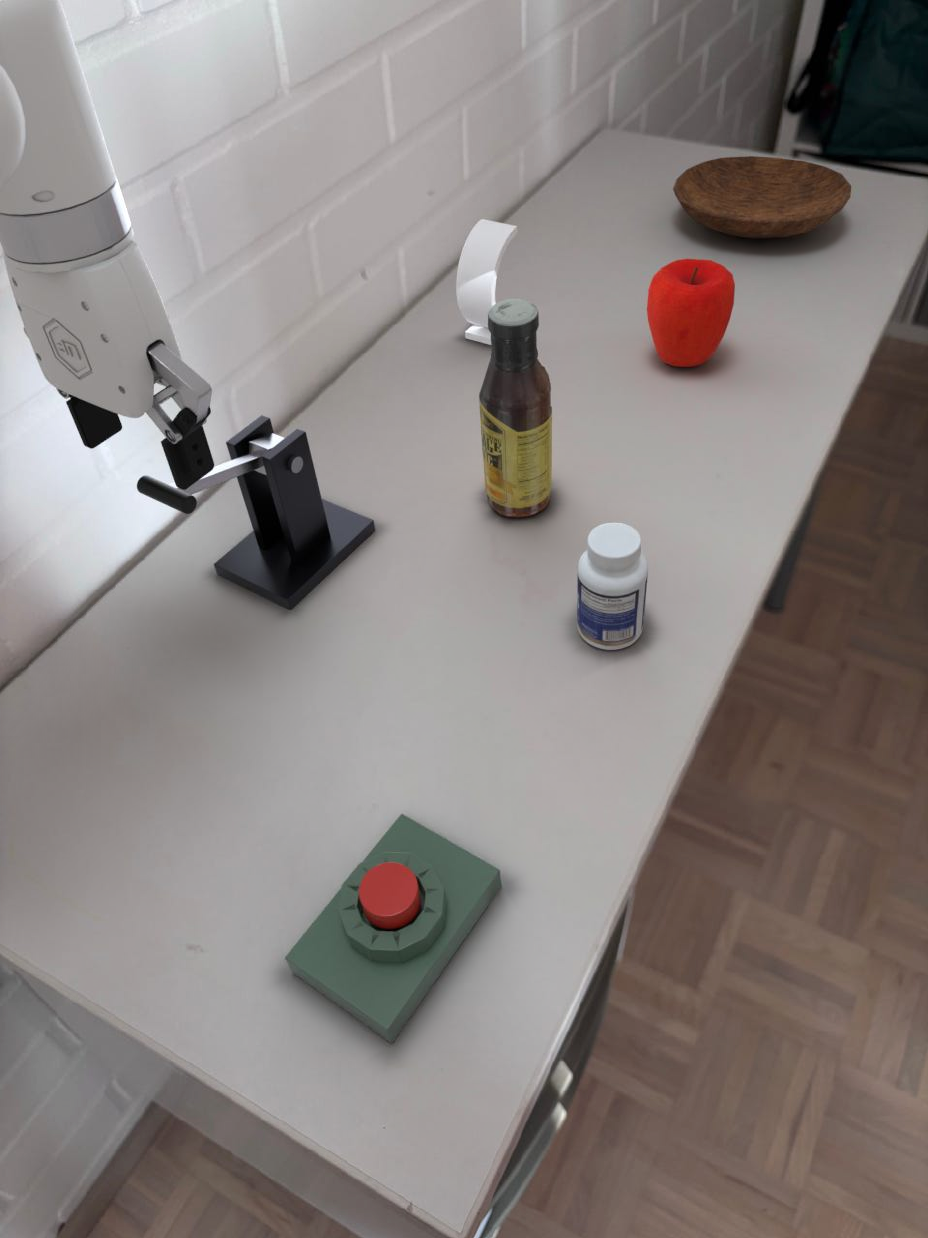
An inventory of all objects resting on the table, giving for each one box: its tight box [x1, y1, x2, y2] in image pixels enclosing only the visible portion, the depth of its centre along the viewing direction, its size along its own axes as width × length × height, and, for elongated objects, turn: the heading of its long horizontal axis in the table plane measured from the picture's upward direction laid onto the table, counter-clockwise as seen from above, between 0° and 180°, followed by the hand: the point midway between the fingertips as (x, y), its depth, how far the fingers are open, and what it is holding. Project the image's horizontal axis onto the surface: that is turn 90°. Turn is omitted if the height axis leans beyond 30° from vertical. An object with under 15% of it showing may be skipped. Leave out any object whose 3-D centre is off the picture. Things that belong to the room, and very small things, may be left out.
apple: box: [646, 258, 736, 368], centre depth 100 cm, size 9×9×11 cm
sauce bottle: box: [478, 298, 553, 518], centre depth 82 cm, size 7×6×20 cm
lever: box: [136, 433, 285, 515], centre depth 75 cm, size 13×5×2 cm, turn 145°
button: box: [359, 862, 421, 929], centre depth 58 cm, size 4×4×2 cm
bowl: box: [672, 155, 852, 239], centre depth 123 cm, size 20×22×5 cm
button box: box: [284, 813, 502, 1044], centre depth 60 cm, size 12×8×4 cm, turn 146°
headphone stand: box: [455, 218, 518, 346], centre depth 106 cm, size 5×6×12 cm
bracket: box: [213, 414, 376, 611], centre depth 82 cm, size 12×9×13 cm
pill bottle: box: [576, 522, 649, 651], centre depth 74 cm, size 5×5×10 cm
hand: (149, 457), depth 68 cm, fingers open, 9 cm apart
